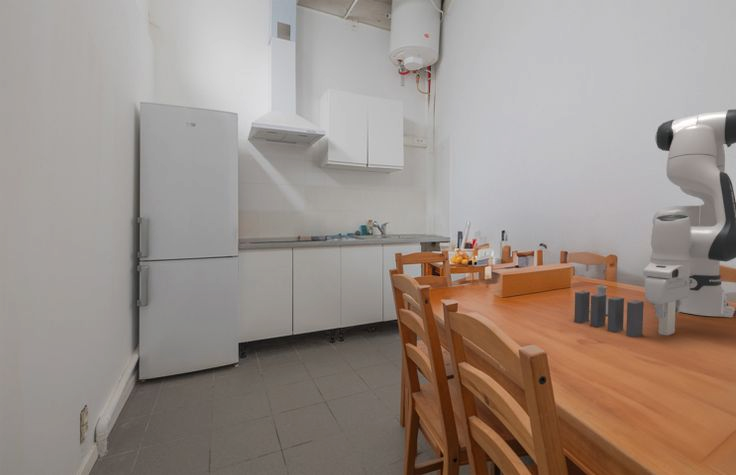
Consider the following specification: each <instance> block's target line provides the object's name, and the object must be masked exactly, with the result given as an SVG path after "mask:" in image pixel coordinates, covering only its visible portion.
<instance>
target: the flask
mask: <svg viewBox="0 0 736 475" xmlns="http://www.w3.org/2000/svg"><path fill="white" fill-rule="evenodd" d="M596 289H597V291H596V294H604V295H606V316H608V299H609V298H608V297H607V289H608V287H607V286H606V285H596ZM589 313H591V307H589Z"/></svg>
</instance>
